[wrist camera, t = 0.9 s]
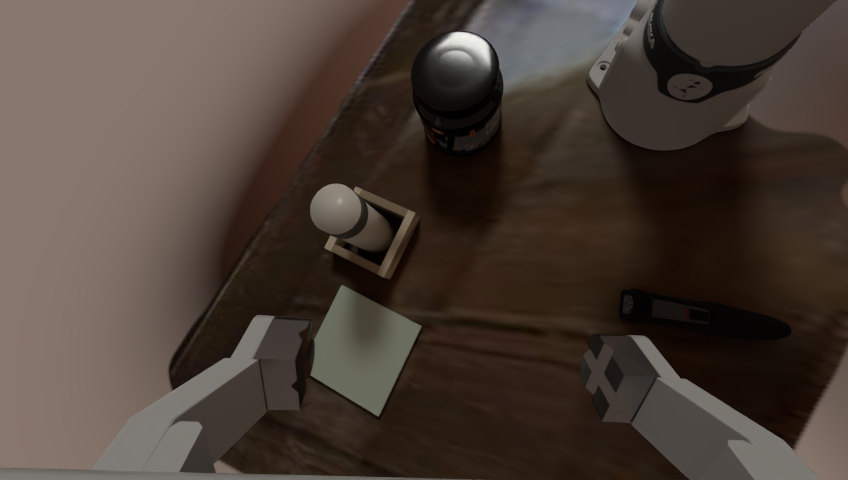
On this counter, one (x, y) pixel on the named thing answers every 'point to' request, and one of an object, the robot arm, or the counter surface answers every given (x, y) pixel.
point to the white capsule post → (350, 219)
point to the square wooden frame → (397, 244)
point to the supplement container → (458, 92)
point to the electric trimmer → (700, 316)
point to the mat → (362, 349)
